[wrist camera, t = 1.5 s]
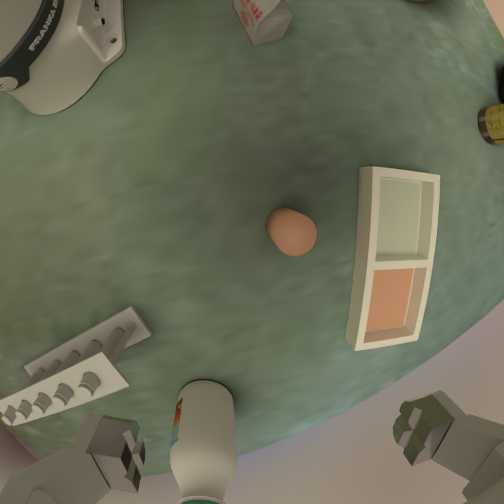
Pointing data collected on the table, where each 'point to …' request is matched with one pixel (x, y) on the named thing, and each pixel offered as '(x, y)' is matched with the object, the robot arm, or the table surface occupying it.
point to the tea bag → (263, 19)
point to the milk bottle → (203, 442)
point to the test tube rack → (76, 369)
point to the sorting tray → (392, 256)
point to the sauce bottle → (492, 124)
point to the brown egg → (291, 231)
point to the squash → (502, 82)
